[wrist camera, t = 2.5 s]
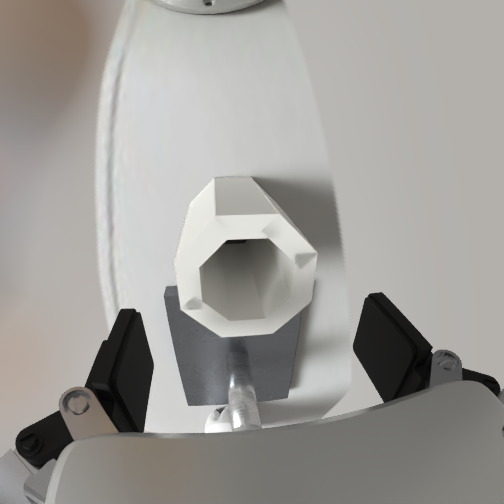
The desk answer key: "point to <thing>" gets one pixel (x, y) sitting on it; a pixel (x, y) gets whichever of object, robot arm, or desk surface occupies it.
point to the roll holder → (231, 364)
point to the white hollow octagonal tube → (242, 261)
